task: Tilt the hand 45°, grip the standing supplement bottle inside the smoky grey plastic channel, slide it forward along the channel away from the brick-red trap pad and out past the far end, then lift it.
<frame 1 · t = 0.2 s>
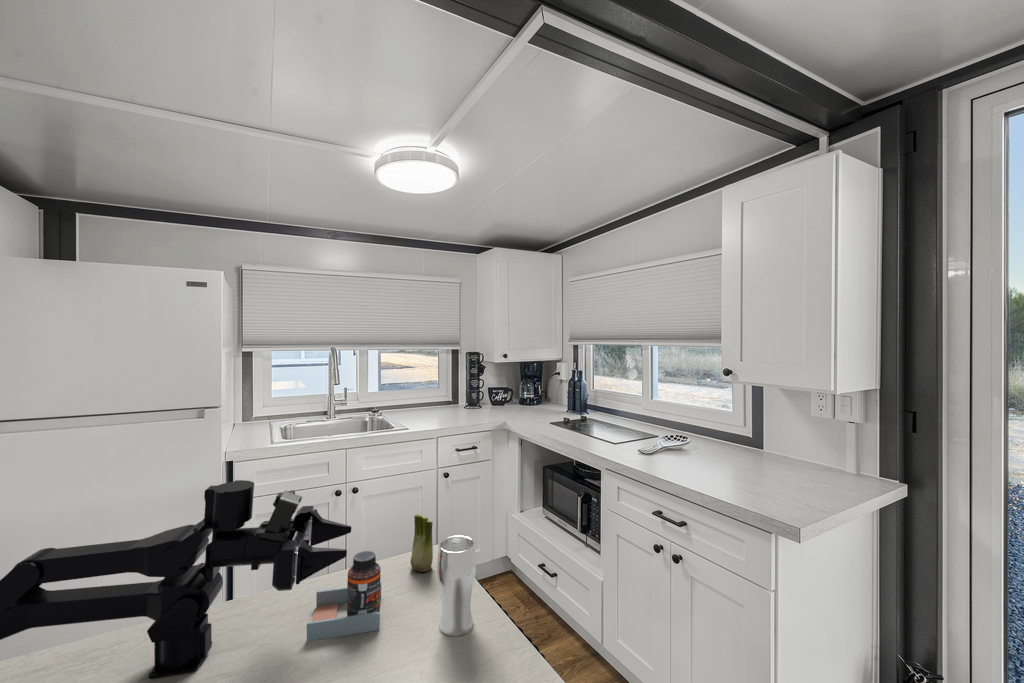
hand: (349, 540, 77), 17 cm above the countertop, tool horizontal, fingers open, 9 cm apart
fennel bulb: (421, 569, 99), on the countertop
supplement bottle: (363, 616, 82), on the countertop
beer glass: (456, 626, 80), on the countertop
channel: (346, 617, 82), on the countertop
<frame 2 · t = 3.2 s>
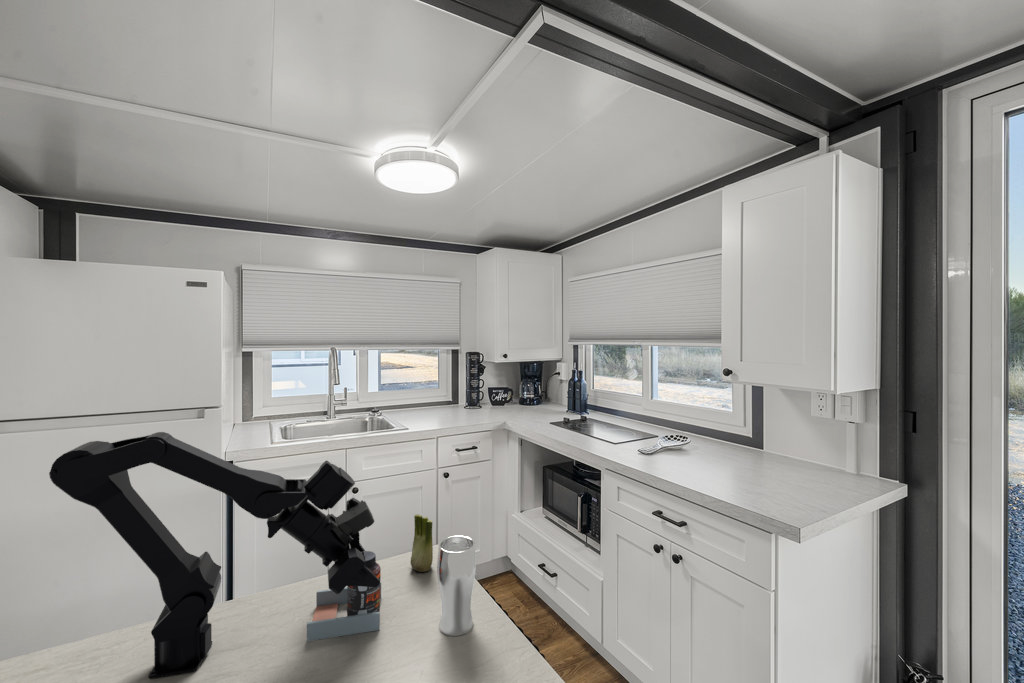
hand: (376, 575, 83), 7 cm above the countertop, tool tilted 45°, fingers open, 6 cm apart
supplement bottle: (363, 616, 82), on the countertop, touching gripper
everything else where it was.
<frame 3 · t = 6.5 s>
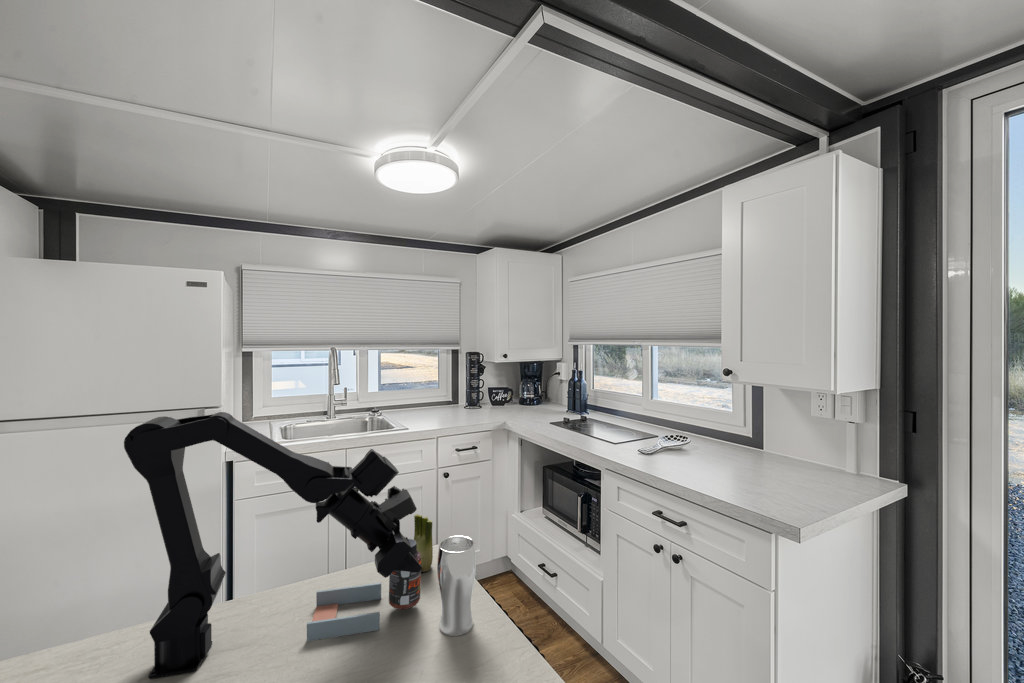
hand: (416, 562, 85), 9 cm above the countertop, tool tilted 45°, fingers closed on supplement bottle, 6 cm apart
supplement bottle: (404, 602, 84), point 1 cm above the countertop, touching gripper
everything else where it was.
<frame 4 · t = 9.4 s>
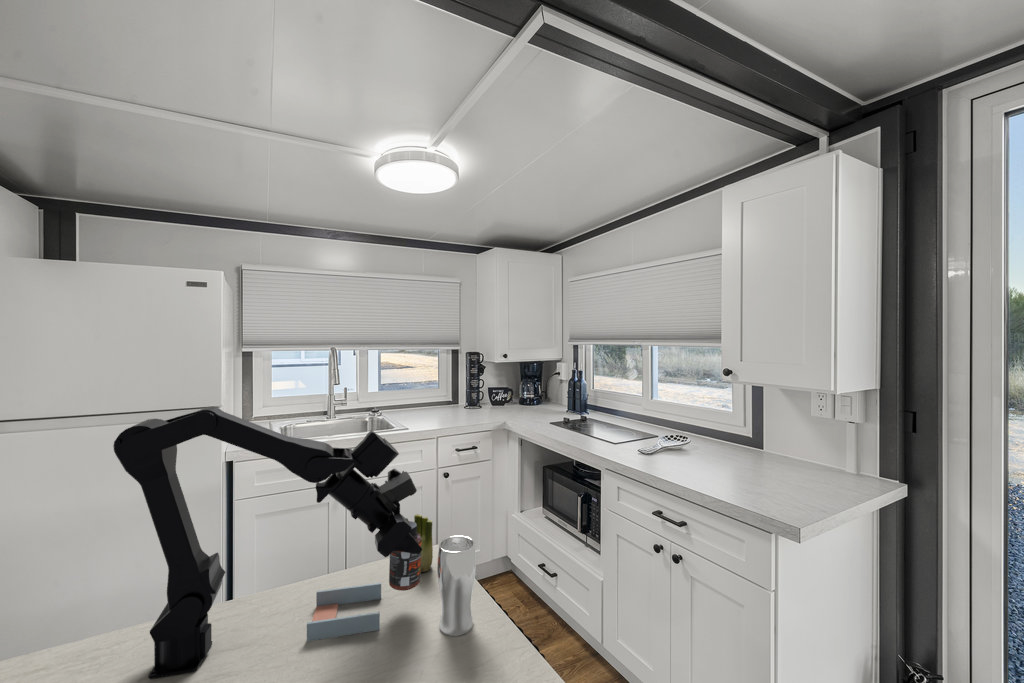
hand: (416, 544, 85), 12 cm above the countertop, tool tilted 45°, fingers closed on supplement bottle, 6 cm apart
supplement bottle: (404, 584, 84), point 5 cm above the countertop, touching gripper
everything else where it was.
at the end: the gripper is holding supplement bottle; supplement bottle inside the target area (0.1 cm from its centre), point 4.9 cm above the countertop; supplement bottle touching gripper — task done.
